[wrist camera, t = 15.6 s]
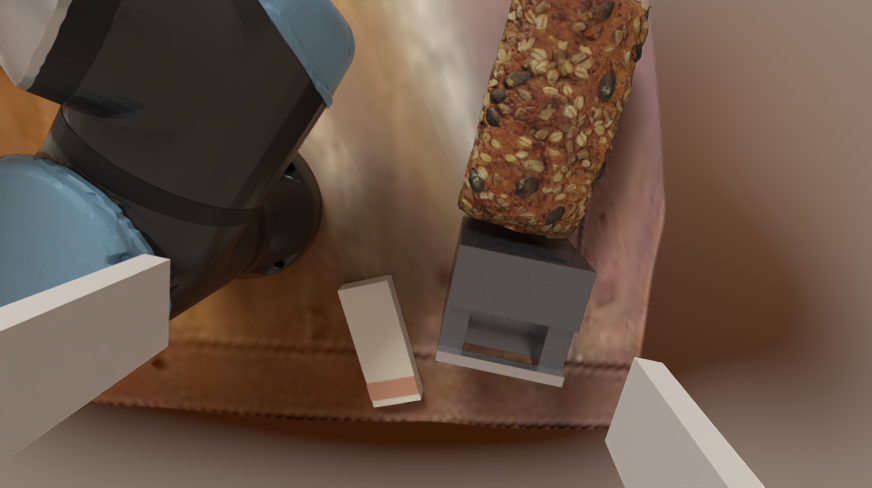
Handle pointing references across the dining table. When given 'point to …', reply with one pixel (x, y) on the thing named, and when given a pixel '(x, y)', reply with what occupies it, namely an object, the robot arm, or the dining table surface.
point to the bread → (552, 112)
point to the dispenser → (513, 301)
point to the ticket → (381, 340)
